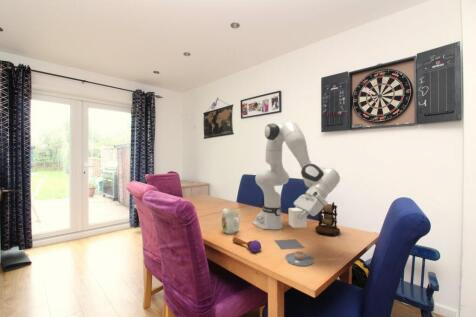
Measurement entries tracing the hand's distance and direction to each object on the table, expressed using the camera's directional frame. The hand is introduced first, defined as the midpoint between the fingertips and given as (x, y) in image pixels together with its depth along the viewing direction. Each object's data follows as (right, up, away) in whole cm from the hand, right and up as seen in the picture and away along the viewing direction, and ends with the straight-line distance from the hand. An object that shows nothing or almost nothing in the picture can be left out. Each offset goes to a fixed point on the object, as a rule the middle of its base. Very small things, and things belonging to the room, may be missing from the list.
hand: (296, 216), depth 113 cm
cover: (+1, -4, 0) cm, 4 cm away
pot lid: (+1, -19, -4) cm, 20 cm away
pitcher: (-33, -19, +35) cm, 52 cm away
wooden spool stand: (+29, -19, +34) cm, 49 cm away
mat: (0, -19, +14) cm, 24 cm away
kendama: (-24, -20, +11) cm, 33 cm away
